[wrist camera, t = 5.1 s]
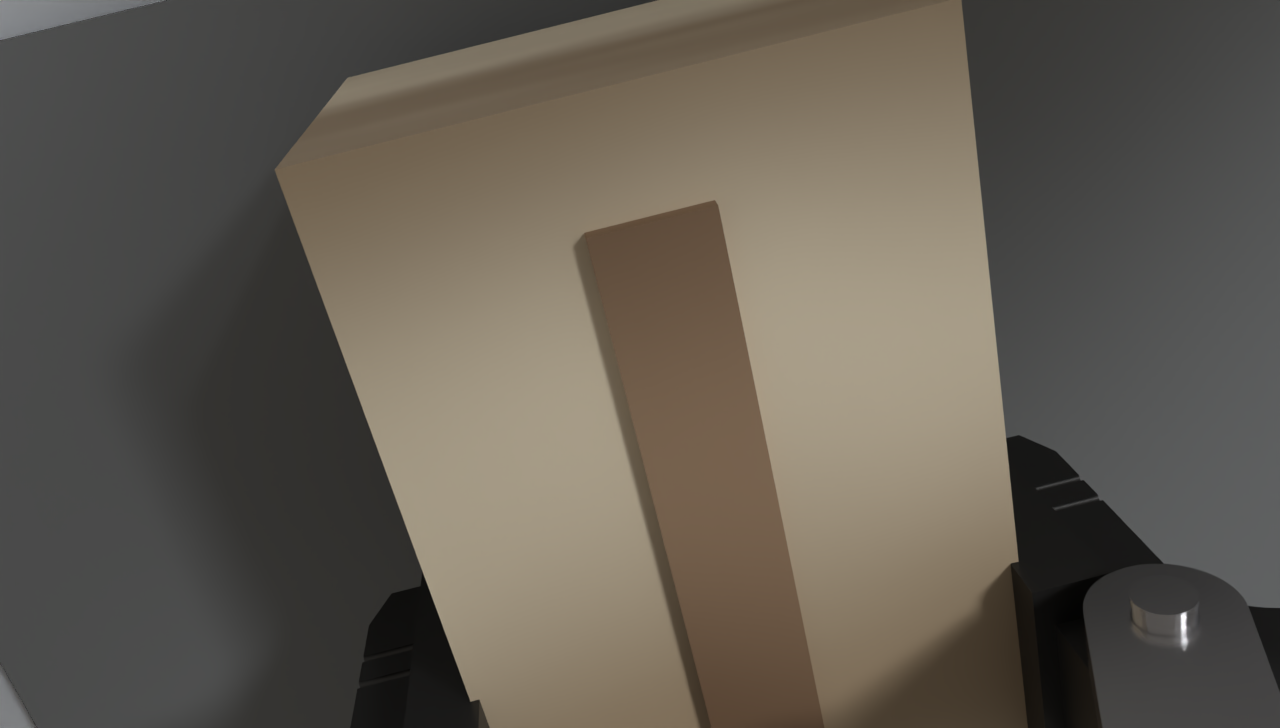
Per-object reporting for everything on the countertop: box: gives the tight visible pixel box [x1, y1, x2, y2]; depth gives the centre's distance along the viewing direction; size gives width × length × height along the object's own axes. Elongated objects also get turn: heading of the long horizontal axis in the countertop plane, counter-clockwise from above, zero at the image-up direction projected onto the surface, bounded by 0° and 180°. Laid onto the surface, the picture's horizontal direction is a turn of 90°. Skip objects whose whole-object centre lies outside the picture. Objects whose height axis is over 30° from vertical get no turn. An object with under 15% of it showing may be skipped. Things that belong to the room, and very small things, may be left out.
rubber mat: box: [0, 0, 1280, 728], centre depth 15 cm, size 18×14×1 cm
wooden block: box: [275, 0, 1028, 728], centre depth 12 cm, size 12×5×4 cm, turn 13°
